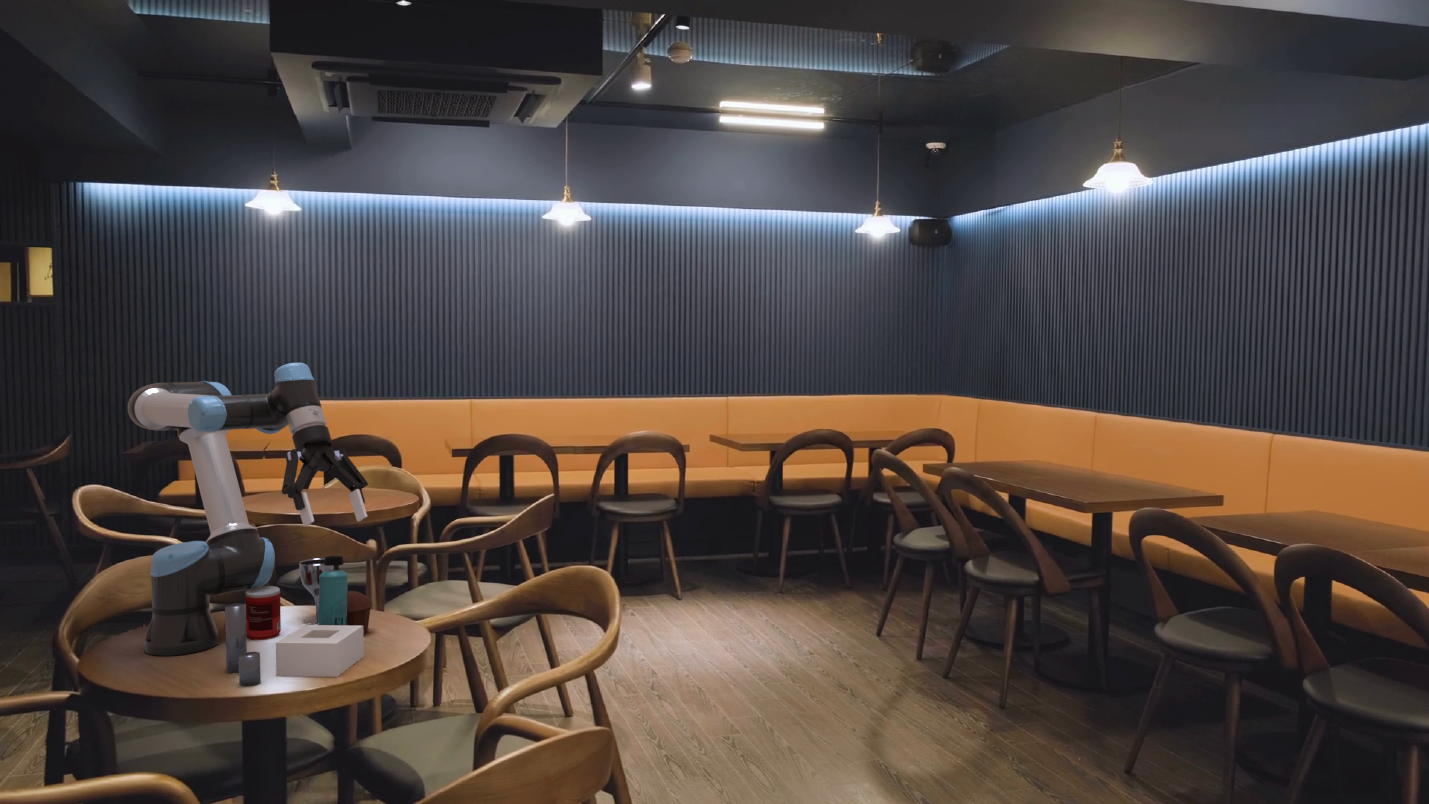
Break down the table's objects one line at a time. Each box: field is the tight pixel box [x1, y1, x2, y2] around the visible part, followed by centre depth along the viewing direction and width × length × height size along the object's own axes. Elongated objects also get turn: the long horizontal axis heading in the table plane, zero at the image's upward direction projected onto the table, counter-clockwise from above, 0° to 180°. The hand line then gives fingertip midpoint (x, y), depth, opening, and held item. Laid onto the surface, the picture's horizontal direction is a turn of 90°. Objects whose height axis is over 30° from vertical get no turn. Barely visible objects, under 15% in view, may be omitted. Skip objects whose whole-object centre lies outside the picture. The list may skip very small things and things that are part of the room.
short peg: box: [238, 651, 262, 688], centre depth 209 cm, size 4×4×6 cm
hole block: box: [274, 624, 365, 678], centre depth 220 cm, size 13×14×7 cm
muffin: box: [347, 590, 374, 636], centre depth 246 cm, size 12×11×10 cm
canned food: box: [244, 585, 282, 641], centre depth 244 cm, size 8×8×11 cm
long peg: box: [224, 602, 248, 674], centre depth 217 cm, size 4×4×14 cm
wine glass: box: [298, 557, 334, 625], centre depth 258 cm, size 8×8×15 cm
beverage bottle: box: [317, 555, 349, 625], centre depth 237 cm, size 6×7×20 cm
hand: (336, 521), depth 218 cm, fingers open, 13 cm apart
